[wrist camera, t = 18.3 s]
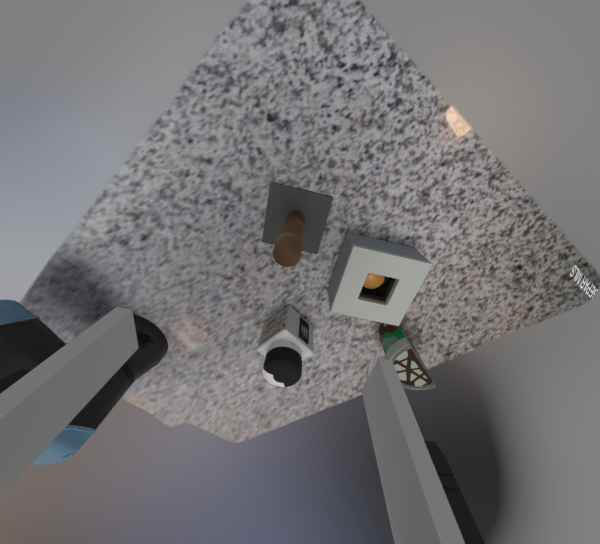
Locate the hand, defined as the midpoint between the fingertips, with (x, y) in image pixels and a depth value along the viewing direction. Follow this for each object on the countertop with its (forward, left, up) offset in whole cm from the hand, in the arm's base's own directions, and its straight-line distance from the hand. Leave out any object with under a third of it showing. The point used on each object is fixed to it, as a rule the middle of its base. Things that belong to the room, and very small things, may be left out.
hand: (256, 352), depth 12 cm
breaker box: (+15, -6, -29) cm, 33 cm away
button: (+15, -6, -28) cm, 33 cm away
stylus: (0, 0, -28) cm, 28 cm away
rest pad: (0, 0, -29) cm, 29 cm away
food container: (+25, -19, -29) cm, 43 cm away
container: (+3, -22, -29) cm, 37 cm away
